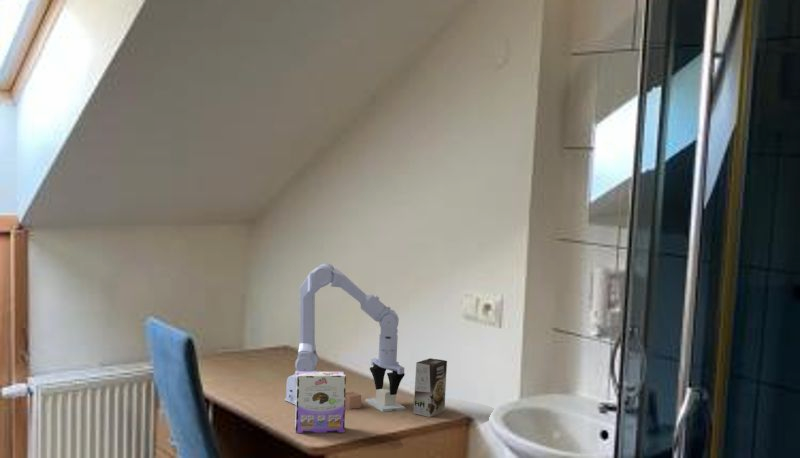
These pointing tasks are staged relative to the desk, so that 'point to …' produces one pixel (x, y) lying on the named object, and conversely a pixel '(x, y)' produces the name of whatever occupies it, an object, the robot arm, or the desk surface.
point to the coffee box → (430, 387)
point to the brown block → (352, 400)
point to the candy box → (320, 402)
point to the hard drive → (384, 407)
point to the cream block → (385, 397)
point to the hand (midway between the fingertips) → (386, 391)
